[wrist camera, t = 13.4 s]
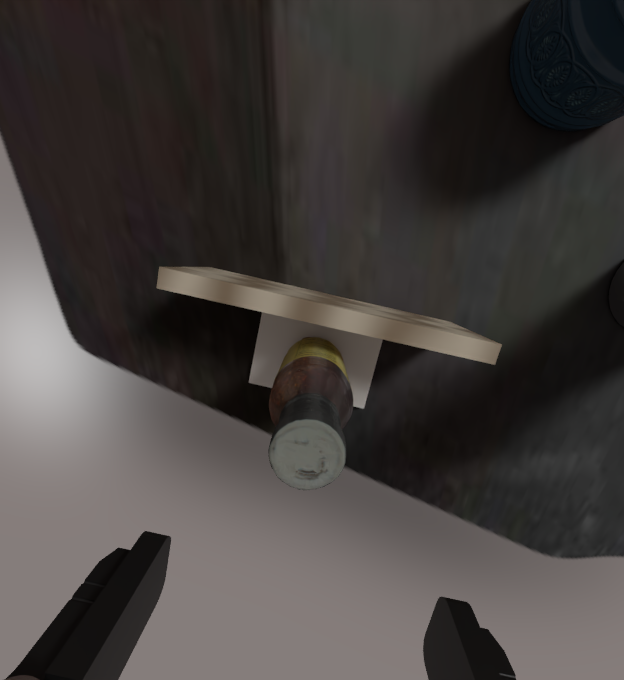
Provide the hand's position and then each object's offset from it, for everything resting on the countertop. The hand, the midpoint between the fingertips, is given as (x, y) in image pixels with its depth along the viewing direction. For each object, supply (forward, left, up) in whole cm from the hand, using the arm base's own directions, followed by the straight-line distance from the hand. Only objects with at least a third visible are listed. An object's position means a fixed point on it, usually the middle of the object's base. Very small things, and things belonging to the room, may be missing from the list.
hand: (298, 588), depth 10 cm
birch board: (0, -6, -28) cm, 29 cm away
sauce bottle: (0, +1, -28) cm, 28 cm away
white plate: (0, +1, -28) cm, 28 cm away
